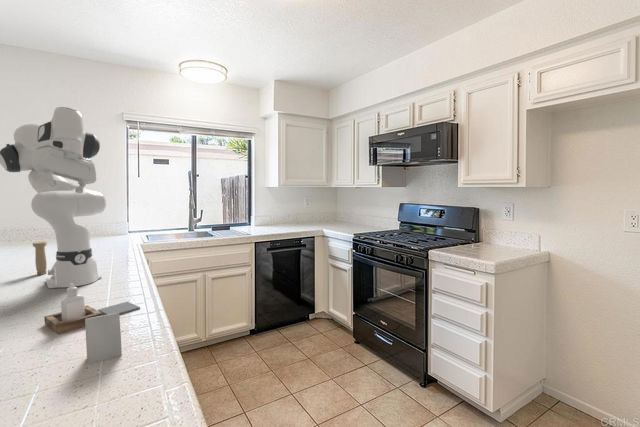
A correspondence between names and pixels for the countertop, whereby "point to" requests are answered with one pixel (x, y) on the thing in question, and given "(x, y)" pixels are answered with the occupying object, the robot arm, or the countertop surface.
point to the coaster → (119, 308)
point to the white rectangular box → (103, 337)
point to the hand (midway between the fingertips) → (66, 189)
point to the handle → (40, 257)
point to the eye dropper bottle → (72, 305)
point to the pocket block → (60, 327)
